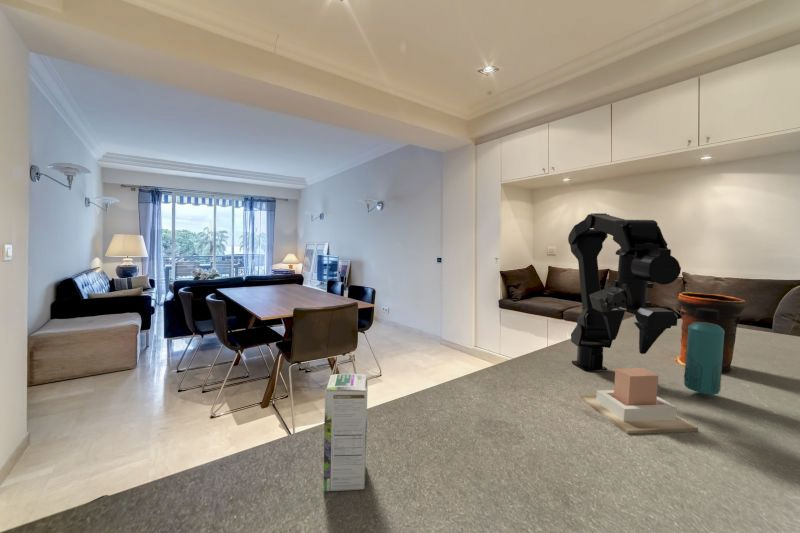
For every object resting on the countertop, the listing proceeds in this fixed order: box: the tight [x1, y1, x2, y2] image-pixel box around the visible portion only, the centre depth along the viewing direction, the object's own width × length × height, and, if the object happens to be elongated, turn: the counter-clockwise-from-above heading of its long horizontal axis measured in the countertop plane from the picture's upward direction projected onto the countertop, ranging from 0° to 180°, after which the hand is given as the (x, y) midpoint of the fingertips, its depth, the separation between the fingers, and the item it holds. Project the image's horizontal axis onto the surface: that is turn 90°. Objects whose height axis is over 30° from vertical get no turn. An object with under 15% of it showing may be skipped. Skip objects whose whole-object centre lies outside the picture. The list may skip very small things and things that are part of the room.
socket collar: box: [596, 389, 678, 422], centre depth 70 cm, size 8×11×2 cm
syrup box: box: [323, 373, 369, 492], centre depth 50 cm, size 6×6×14 cm
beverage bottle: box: [683, 308, 725, 395], centre depth 79 cm, size 6×7×20 cm
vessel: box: [674, 291, 747, 374], centre depth 99 cm, size 14×14×20 cm
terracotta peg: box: [613, 367, 659, 406], centre depth 70 cm, size 6×4×8 cm, turn 96°
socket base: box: [580, 394, 699, 435], centre depth 71 cm, size 14×14×1 cm
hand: (626, 346), depth 78 cm, fingers open, 9 cm apart
